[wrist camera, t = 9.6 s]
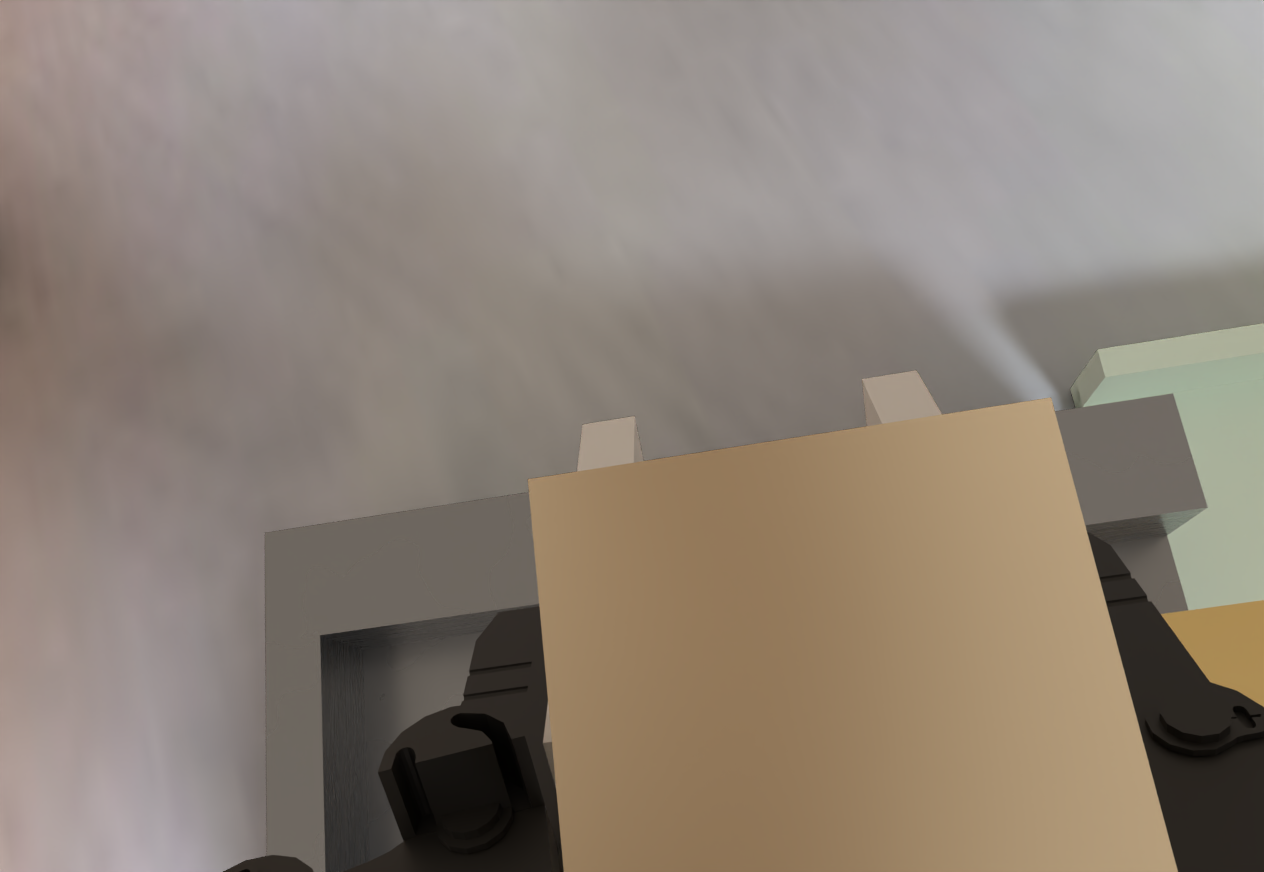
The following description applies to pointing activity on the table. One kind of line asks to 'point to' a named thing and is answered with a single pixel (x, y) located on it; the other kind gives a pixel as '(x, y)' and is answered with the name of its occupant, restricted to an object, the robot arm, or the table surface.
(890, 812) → the tan wooden pedestal block
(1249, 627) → the light wood block
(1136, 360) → the tray
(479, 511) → the gray open box
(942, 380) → the table surface
